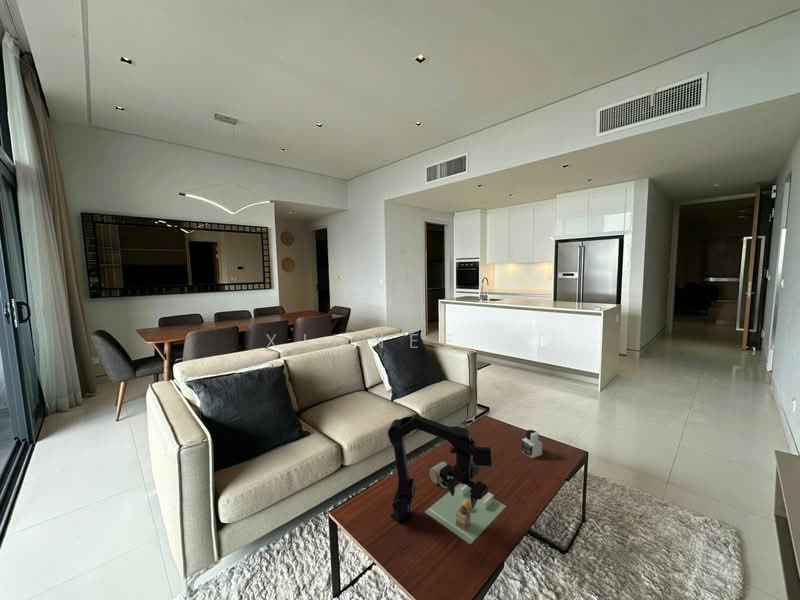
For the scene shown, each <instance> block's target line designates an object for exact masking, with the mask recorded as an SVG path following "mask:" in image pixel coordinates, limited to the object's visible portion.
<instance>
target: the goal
mask: <svg viewBox="0 0 800 600" xmlns="http://www.w3.org/2000/svg"><path fill="white" fill-rule="evenodd" d="M469 491H471V488H470V487H468V486H467V485H465V486H464V487H463V488H461V496H464V495H465V494H466V493H467V492H469ZM494 497H495V496H494V494H493V493H490V492H489V491H488V493H487V494H486V495H485V496H484V497H483V498H485V499H486V500H485V501H484V502H483V509H484V510H486V509H487V508H488V507H489V506H490V505H491V504H492V503H493V502H494Z"/></svg>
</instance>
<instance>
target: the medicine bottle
mask: <svg viewBox="0 0 800 600" xmlns="http://www.w3.org/2000/svg"><path fill="white" fill-rule="evenodd" d="M521 452H522V453H523V454H524V455H526V456H527V457H529V458H531V459H534V458H538V457H541V456H542V455H543V442H542V441H541V440H539V433H538V431H536V430H533V429H528V430H526V431H525V437H524V438H522V439H521ZM537 456H538V457H537Z"/></svg>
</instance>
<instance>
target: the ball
mask: <svg viewBox="0 0 800 600" xmlns="http://www.w3.org/2000/svg"><path fill="white" fill-rule="evenodd" d="M462 506H465V507H466V509H469V508H470V507H471V503H470V501H469V500H467V499H465V500H463V502H462Z"/></svg>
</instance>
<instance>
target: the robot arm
mask: <svg viewBox="0 0 800 600" xmlns="http://www.w3.org/2000/svg"><path fill="white" fill-rule="evenodd" d="M415 430H419V431H422V432H424V433H427V434H429V435H432V436H435V437H437V438H440V439H442V440H445V441H447V442H448V443H449V444H450V445H451V446H450V450H449V452H450V453H451V454H454V455H455V456H454V458H455V461H454V462H455V464H454V465H453V466H452V465H450V464H448V465H446V466H445V467H443V468H442V469H441V470H440V472H439V476H440V477H441V478H442V480H443V481H444V482H443V483H444V484H445V486H446V487H448V492H449V491H450V493H451V495H452V496H454V493H455V487H456V485H455V481H456V482H458V484H459V483H461V484H463V485H464V484H465V485H467V486H468V487H470V488H471V495H470V499H471V506H472V508H474V507H475V505H476V502H477V500H478V499H482V498H483V497H484V496H485V495H486V494H487V493H488V492H489V486H488V484H485V483H484V482H482V481H480V480H477V482H474V481H472V480H473V479H475V476H479V473H480V468H481V467H484V468H485V467H486V468H492V464H493V463H492V455H491V454H492V449H491V447H489V446H476V443H477V442H475V440H474V439H473V438H472V435H471V432H470V430H469V429H468V428H465V427H462V426H448V425H445V424H443V423H441V422H437V421H434V420H432V419H429V418H426V417H424V416H421V415H420V414H417V413H415V414H413V415H411V416H404V417H402V418H400V419H398V418H397V419H394V420H392V422H391V424H390V425H389V428H388V430H387V436H388V439H389V442H390V444H391V445H392V447H393V451H394V457H395V464H396V471H397V478H398V484H397V489H396V490H395V494H394V497H393V501H392V504H391V507H392V511H393V512H392V514H391V515H390V518H391V519H392V520H394V521H395V522H397V523H398V524H399V525H400V526H403V525H405V523H407V522H409V521H410V520H411V518H413V517H414V516H413V514H412V513H411V504H412V501H413V499H414V497H415V493H416V489H417V486H416V484H415V478H411V477H410V473H409V466H408V465H409V464H408V459H407V458H408V457H407V452H406V445H405V441H406V440H405V439H406V436H408V435H409V434H410V433H411V432H413V431H415ZM471 457H472V458H471Z"/></svg>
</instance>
